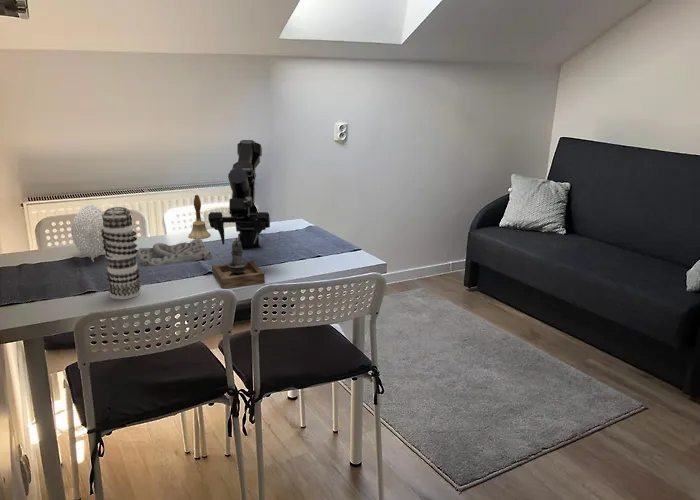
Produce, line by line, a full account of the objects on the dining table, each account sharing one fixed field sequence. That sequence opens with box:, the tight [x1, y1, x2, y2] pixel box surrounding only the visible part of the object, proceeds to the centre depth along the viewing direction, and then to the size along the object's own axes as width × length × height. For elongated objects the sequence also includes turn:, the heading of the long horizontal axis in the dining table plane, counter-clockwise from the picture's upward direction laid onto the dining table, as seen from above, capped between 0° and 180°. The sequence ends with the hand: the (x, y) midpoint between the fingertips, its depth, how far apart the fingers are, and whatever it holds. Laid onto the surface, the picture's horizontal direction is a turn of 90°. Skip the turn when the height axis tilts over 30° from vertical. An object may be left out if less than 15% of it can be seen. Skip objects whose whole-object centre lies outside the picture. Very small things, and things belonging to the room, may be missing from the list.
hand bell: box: [188, 194, 212, 240], centre depth 227 cm, size 8×8×16 cm
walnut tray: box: [211, 260, 266, 289], centre depth 186 cm, size 13×13×3 cm
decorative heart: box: [70, 204, 105, 263], centre depth 201 cm, size 18×11×17 cm, turn 13°
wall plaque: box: [136, 239, 212, 267], centre depth 207 cm, size 24×19×4 cm
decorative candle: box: [100, 206, 142, 300], centre depth 170 cm, size 9×9×25 cm
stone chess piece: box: [227, 237, 247, 276], centre depth 185 cm, size 6×6×12 cm
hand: (238, 243), depth 187 cm, fingers open, 9 cm apart
